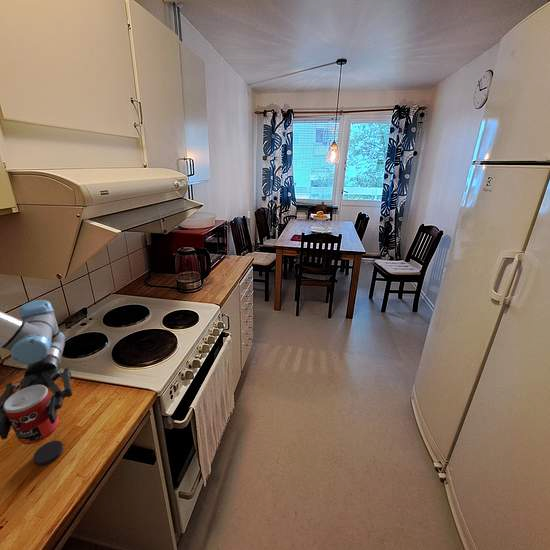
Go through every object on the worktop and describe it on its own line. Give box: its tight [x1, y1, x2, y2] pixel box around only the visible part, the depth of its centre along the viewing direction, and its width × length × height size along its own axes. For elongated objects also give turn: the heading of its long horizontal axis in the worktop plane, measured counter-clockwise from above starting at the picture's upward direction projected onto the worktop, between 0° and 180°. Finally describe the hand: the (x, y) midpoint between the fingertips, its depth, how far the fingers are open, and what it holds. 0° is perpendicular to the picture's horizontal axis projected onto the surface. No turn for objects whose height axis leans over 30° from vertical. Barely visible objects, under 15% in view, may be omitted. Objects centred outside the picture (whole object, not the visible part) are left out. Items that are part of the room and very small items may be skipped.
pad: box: [32, 440, 65, 467], centre depth 73 cm, size 6×6×1 cm
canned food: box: [4, 385, 60, 445], centre depth 68 cm, size 8×8×11 cm
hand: (27, 426), depth 64 cm, fingers closed on canned food, 8 cm apart
